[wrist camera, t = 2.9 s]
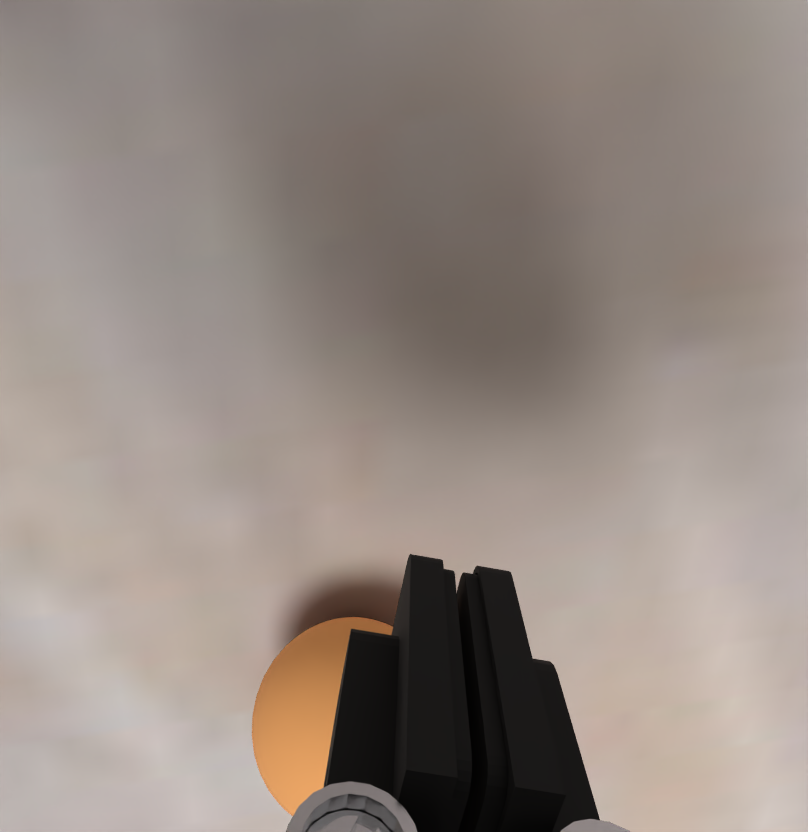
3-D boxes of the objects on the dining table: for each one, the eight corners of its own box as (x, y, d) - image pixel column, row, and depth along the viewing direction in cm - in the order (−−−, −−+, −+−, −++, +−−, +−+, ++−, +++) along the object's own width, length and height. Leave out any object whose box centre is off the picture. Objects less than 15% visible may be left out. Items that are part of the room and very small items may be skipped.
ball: (283, 566, 21) (238, 711, 15) (456, 594, 21) (475, 744, 15) (265, 700, 23) (220, 869, 17) (423, 721, 23) (429, 895, 18)
